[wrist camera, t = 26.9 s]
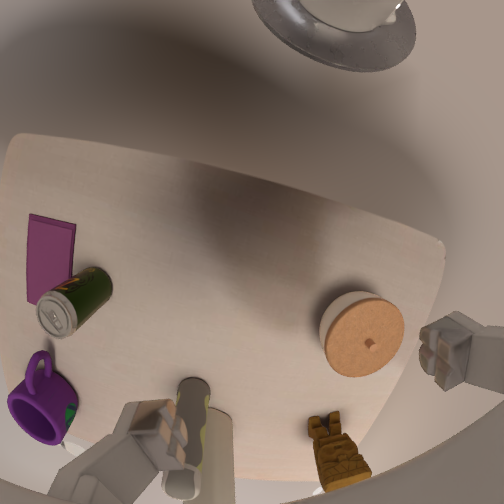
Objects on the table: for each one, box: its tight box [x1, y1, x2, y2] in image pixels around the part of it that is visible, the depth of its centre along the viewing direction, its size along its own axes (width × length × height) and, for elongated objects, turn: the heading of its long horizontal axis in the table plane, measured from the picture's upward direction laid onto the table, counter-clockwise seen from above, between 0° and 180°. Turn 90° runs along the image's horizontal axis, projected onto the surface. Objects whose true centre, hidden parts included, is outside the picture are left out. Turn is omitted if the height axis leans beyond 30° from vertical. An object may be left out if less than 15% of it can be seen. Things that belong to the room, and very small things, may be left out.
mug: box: [7, 350, 78, 445], centre depth 34 cm, size 17×11×10 cm, turn 163°
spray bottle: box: [161, 378, 210, 500], centre depth 31 cm, size 5×5×20 cm
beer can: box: [36, 267, 112, 339], centre depth 30 cm, size 5×5×12 cm
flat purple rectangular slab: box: [26, 214, 76, 306], centre depth 35 cm, size 14×9×1 cm, turn 167°
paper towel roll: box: [183, 408, 235, 504], centre depth 31 cm, size 7×6×21 cm
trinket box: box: [319, 291, 404, 377], centre depth 35 cm, size 11×11×9 cm
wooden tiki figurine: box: [308, 411, 372, 493], centre depth 36 cm, size 7×7×15 cm
